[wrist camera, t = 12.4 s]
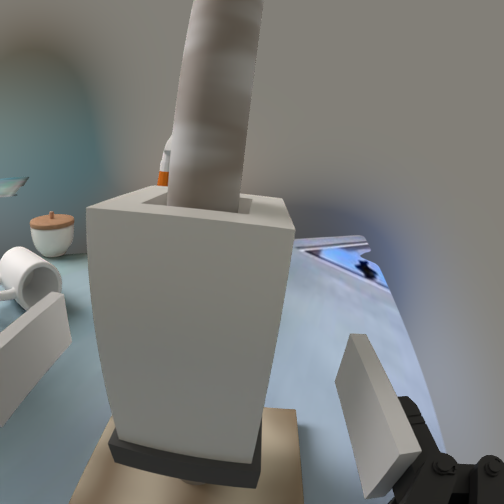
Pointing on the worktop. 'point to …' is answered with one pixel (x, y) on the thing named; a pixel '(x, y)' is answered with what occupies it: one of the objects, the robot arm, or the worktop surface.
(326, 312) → the worktop surface
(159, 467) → the thin dark grey plate
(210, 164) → the pipe stand
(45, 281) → the mug
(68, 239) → the lidded jar
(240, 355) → the sleeve
